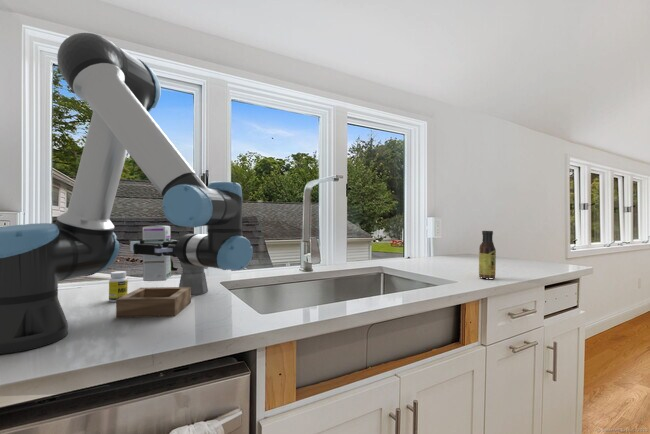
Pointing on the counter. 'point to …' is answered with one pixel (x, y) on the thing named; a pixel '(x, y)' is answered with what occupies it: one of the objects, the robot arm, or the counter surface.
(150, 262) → the syrup box
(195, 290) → the coffeepot
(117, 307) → the open brown wooden box
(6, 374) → the counter surface
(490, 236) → the sauce bottle
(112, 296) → the supplement bottle
